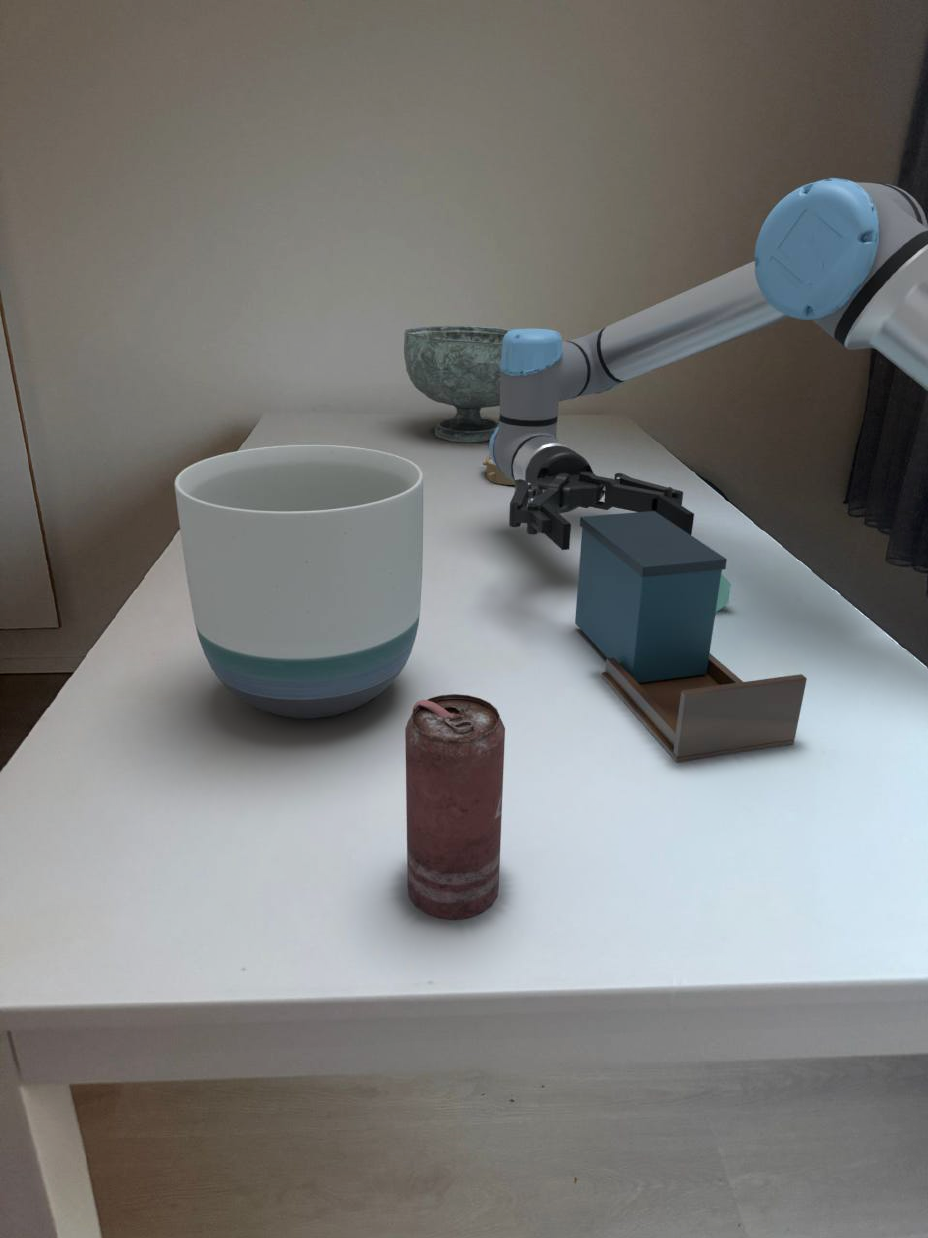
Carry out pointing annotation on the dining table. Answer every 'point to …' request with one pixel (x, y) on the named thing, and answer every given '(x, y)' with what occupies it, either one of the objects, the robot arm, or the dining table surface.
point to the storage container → (647, 594)
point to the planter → (304, 572)
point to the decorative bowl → (457, 374)
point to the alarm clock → (496, 473)
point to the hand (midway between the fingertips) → (629, 531)
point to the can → (454, 805)
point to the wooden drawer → (712, 710)
